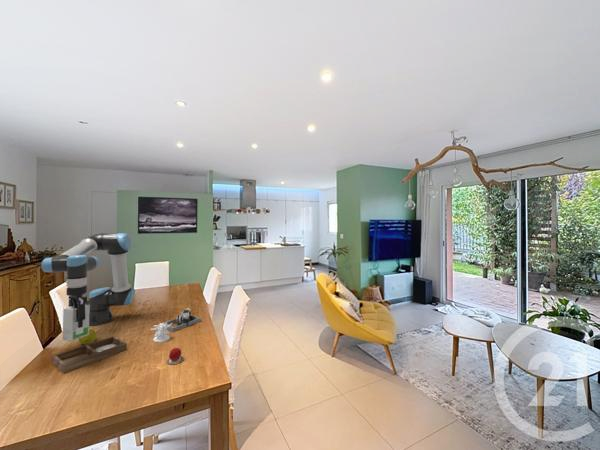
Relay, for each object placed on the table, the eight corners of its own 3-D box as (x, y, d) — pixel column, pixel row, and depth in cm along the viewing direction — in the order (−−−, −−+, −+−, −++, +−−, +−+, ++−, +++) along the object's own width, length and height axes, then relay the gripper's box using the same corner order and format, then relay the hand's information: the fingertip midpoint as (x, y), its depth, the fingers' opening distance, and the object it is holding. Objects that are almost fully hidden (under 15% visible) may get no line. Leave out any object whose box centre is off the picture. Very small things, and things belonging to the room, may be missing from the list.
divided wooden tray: (52, 364, 122) (52, 355, 122) (113, 343, 144) (113, 335, 144) (63, 375, 114) (63, 365, 114) (126, 351, 136) (126, 343, 136)
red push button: (172, 366, 122) (172, 353, 122) (163, 362, 126) (163, 349, 126) (186, 359, 129) (187, 347, 129) (177, 355, 133) (178, 343, 133)
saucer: (91, 351, 133) (91, 349, 133) (112, 344, 141) (112, 341, 141) (98, 357, 128) (98, 354, 128) (119, 349, 136) (119, 346, 136)
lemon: (93, 346, 141) (93, 332, 141) (75, 349, 137) (76, 334, 137) (99, 338, 151) (99, 325, 150) (82, 340, 147) (83, 327, 147)
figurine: (172, 334, 157) (172, 318, 157) (172, 340, 149) (172, 323, 149) (150, 338, 152) (150, 321, 152) (149, 344, 144) (149, 326, 144)
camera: (178, 319, 182) (179, 306, 182) (191, 318, 185) (191, 304, 185) (175, 328, 167) (175, 313, 167) (189, 326, 170) (189, 312, 170)
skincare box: (71, 341, 119) (72, 309, 119) (61, 340, 120) (61, 308, 120) (89, 334, 127) (90, 304, 127) (79, 332, 129) (80, 303, 128)
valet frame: (160, 327, 168) (160, 323, 168) (188, 317, 186) (188, 314, 186) (172, 332, 161) (172, 328, 161) (200, 321, 178) (200, 318, 178)
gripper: (59, 284, 126) (59, 329, 126) (74, 291, 115) (74, 339, 115) (78, 282, 132) (78, 324, 132) (94, 287, 122) (93, 333, 122)
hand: (76, 331), depth 124 cm, fingers closed on skincare box, 8 cm apart
